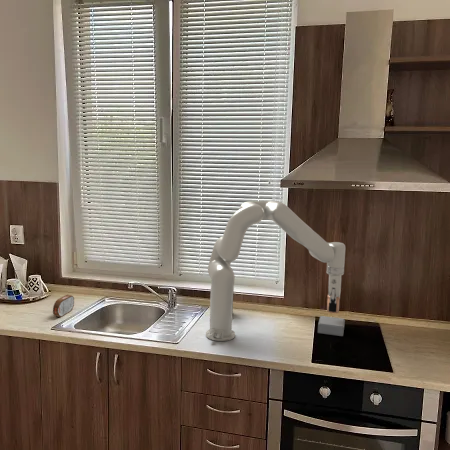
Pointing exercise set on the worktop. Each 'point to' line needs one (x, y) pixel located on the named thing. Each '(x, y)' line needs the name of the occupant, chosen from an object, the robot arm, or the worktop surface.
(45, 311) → the worktop surface
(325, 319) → the pedestal
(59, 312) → the tin
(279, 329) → the worktop surface
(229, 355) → the worktop surface
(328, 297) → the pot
